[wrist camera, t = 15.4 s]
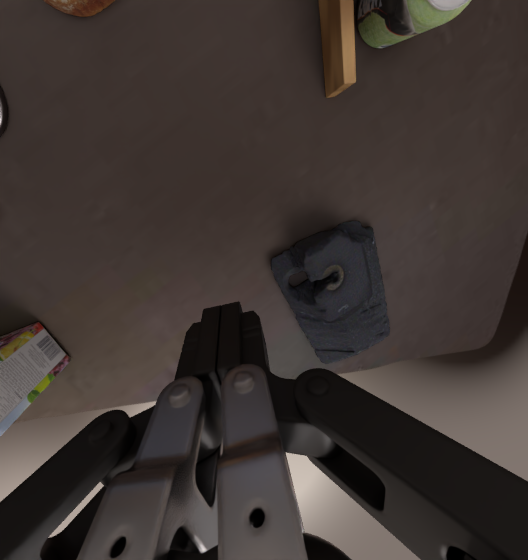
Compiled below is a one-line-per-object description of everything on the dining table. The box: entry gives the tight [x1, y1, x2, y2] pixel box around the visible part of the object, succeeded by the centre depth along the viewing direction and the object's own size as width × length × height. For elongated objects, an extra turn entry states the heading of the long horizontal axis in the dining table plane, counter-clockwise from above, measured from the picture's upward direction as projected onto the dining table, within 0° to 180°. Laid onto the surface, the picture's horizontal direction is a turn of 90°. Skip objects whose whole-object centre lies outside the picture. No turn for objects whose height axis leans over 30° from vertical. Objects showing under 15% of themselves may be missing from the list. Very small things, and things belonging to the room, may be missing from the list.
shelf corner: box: [319, 0, 356, 98], centre depth 25 cm, size 12×12×6 cm
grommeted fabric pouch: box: [271, 221, 390, 364], centre depth 39 cm, size 15×22×5 cm
